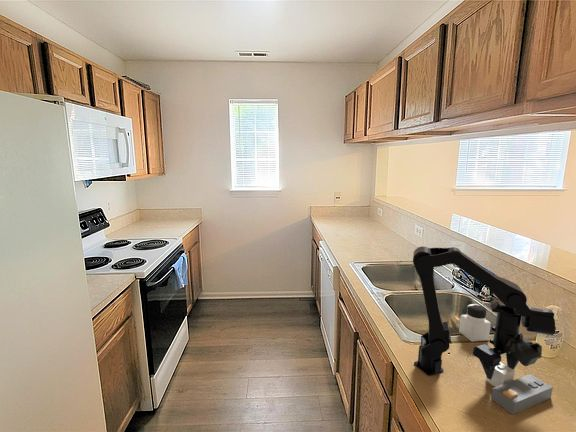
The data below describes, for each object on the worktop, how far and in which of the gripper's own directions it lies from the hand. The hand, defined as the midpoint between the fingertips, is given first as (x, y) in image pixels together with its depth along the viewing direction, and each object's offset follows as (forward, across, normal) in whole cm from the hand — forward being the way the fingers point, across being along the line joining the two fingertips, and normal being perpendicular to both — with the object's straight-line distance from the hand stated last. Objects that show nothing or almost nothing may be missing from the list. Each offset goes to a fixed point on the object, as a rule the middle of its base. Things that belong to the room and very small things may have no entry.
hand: (499, 374), depth 98 cm
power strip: (+3, 0, -7) cm, 7 cm away
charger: (+3, 0, -2) cm, 3 cm away
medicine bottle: (+3, +16, +21) cm, 27 cm away
